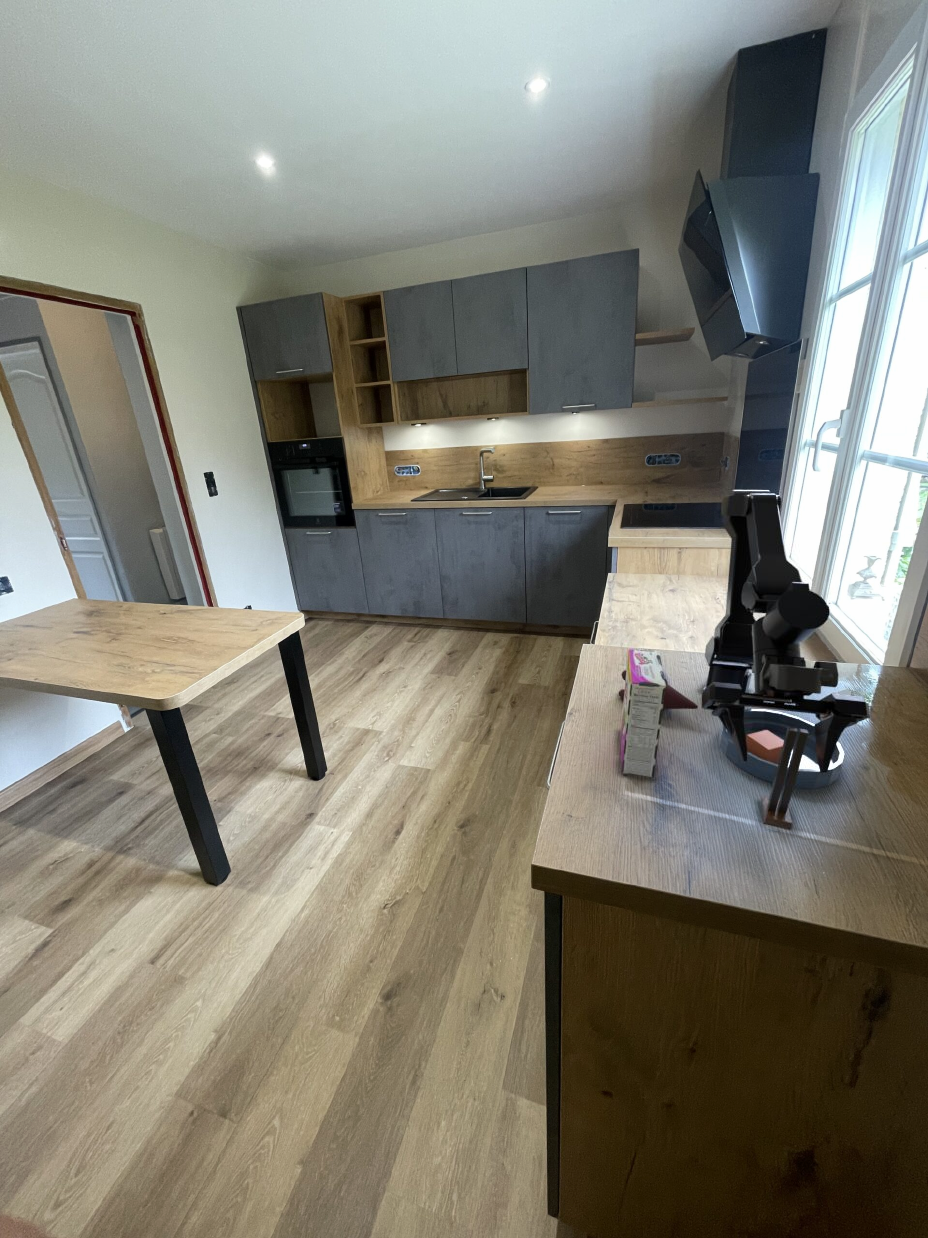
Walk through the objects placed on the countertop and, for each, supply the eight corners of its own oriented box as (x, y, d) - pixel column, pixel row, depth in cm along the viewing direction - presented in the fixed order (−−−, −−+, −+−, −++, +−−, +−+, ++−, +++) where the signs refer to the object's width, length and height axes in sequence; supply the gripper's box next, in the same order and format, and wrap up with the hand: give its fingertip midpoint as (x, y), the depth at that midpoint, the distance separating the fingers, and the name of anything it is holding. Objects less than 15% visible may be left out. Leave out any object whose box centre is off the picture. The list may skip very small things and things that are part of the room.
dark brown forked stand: (760, 803, 68) (781, 719, 63) (784, 809, 67) (808, 723, 61) (764, 824, 64) (787, 736, 59) (790, 830, 63) (816, 741, 58)
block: (762, 750, 78) (767, 729, 76) (784, 765, 74) (789, 744, 73) (742, 755, 77) (746, 734, 75) (763, 771, 73) (768, 750, 72)
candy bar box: (618, 733, 84) (627, 647, 78) (649, 737, 83) (660, 650, 77) (619, 775, 74) (630, 681, 68) (654, 780, 73) (668, 685, 67)
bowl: (705, 759, 77) (708, 741, 76) (734, 715, 88) (738, 698, 87) (829, 808, 67) (835, 788, 65) (844, 751, 78) (850, 733, 76)
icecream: (709, 685, 86) (632, 664, 97) (691, 690, 81) (612, 667, 92) (703, 722, 87) (627, 697, 98) (684, 729, 82) (607, 702, 93)
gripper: (718, 629, 65) (720, 747, 59) (885, 641, 60) (904, 772, 54) (700, 656, 75) (701, 759, 69) (842, 668, 70) (854, 781, 64)
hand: (783, 767), depth 64 cm, fingers open, 9 cm apart
